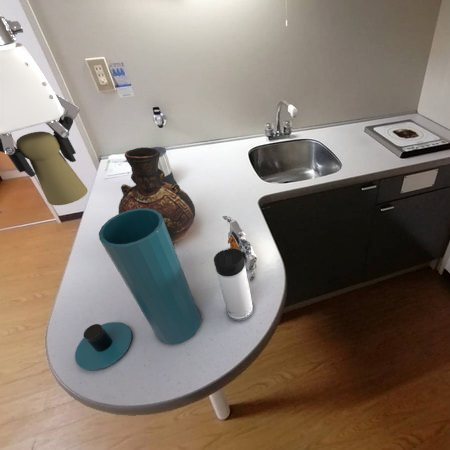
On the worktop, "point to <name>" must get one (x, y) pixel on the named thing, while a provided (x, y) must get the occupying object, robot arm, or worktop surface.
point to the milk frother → (164, 166)
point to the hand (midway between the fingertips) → (50, 165)
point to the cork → (51, 168)
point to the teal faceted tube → (152, 272)
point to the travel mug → (234, 283)
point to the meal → (241, 244)
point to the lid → (102, 345)
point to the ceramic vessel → (156, 193)
